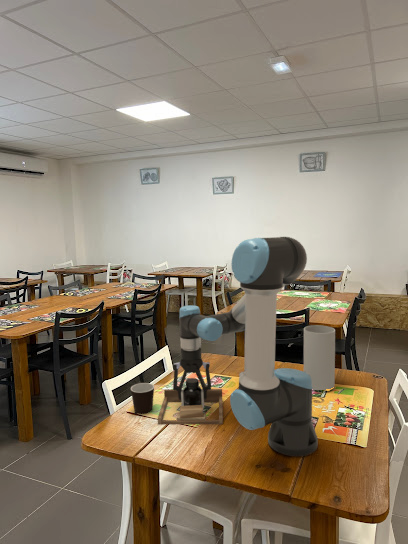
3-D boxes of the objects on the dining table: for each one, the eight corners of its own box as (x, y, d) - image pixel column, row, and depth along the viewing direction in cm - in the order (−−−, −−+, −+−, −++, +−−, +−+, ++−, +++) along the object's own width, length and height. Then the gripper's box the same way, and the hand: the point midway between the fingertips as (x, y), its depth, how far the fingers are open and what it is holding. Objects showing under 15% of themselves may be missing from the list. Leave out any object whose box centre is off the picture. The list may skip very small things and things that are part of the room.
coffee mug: (148, 420, 142) (147, 393, 141) (127, 417, 145) (126, 391, 144) (162, 406, 153) (161, 381, 152) (142, 403, 156) (141, 379, 155)
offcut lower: (205, 425, 138) (205, 417, 137) (176, 425, 138) (176, 417, 138) (205, 421, 141) (205, 413, 141) (178, 420, 142) (177, 412, 142)
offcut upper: (202, 417, 138) (202, 409, 138) (180, 418, 137) (179, 410, 137) (202, 412, 141) (202, 404, 141) (180, 413, 141) (179, 406, 141)
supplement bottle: (181, 414, 146) (180, 383, 145) (187, 405, 152) (186, 376, 151) (199, 416, 144) (197, 384, 143) (204, 407, 150) (203, 377, 149)
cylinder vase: (297, 385, 169) (297, 328, 166) (317, 378, 175) (317, 324, 172) (320, 395, 158) (321, 335, 155) (340, 388, 165) (341, 329, 162)
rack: (222, 427, 136) (222, 410, 135) (158, 427, 137) (157, 411, 136) (222, 403, 154) (222, 388, 153) (165, 404, 155) (164, 389, 154)
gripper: (217, 344, 149) (219, 402, 151) (165, 345, 149) (168, 403, 152) (217, 350, 141) (219, 411, 144) (162, 351, 142) (165, 412, 145)
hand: (193, 407), depth 148 cm, fingers closed on supplement bottle, 7 cm apart
